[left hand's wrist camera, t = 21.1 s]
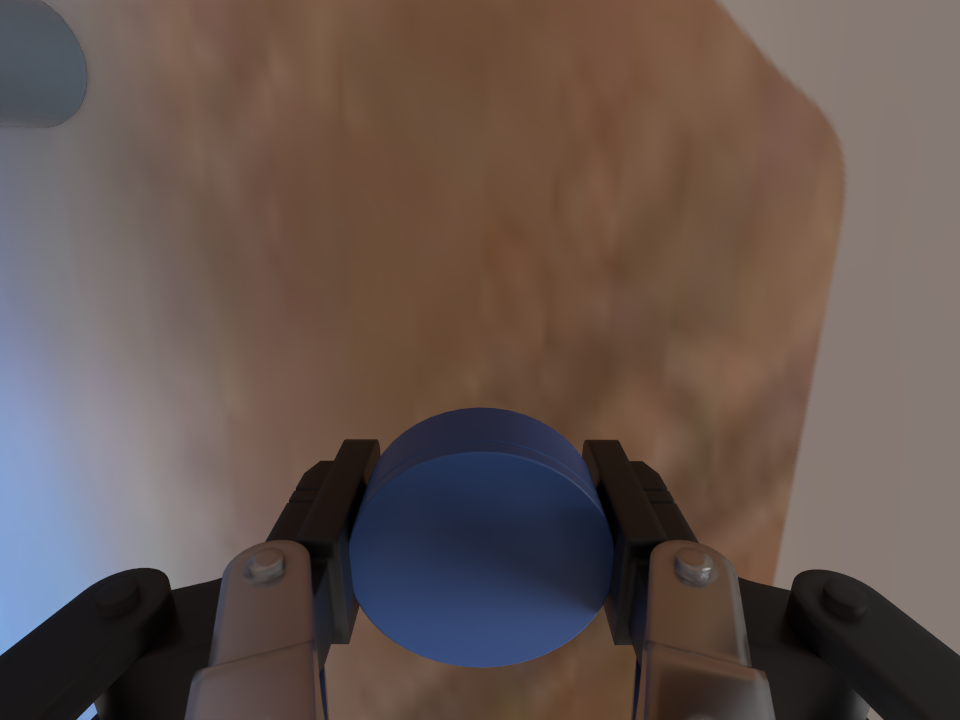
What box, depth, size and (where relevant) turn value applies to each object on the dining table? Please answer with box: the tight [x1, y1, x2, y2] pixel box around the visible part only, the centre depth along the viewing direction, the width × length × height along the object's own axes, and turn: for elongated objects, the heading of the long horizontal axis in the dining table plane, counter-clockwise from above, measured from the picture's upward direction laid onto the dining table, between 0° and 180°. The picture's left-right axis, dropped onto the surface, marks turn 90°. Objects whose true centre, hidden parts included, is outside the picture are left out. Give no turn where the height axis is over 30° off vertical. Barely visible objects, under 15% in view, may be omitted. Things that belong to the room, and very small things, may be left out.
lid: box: [349, 408, 614, 667], centre depth 10 cm, size 5×5×2 cm
